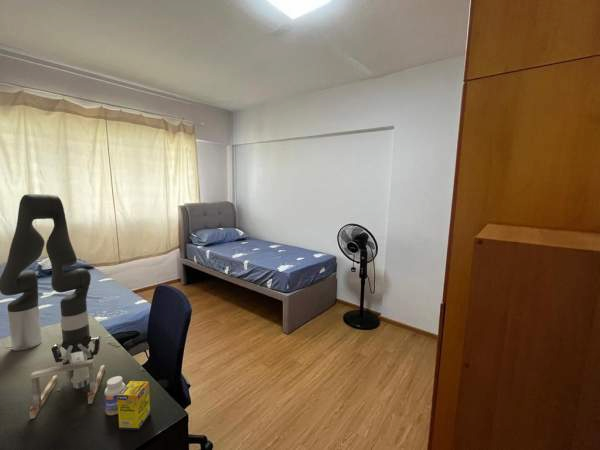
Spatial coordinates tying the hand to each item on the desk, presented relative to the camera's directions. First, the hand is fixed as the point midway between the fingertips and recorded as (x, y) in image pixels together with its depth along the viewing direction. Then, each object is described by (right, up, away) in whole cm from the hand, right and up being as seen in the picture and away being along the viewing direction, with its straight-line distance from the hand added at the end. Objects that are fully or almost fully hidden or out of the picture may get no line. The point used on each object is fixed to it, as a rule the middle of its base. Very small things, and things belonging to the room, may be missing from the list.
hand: (79, 367), depth 98 cm
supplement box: (+32, -6, -18) cm, 37 cm away
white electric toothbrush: (0, -1, 0) cm, 1 cm away
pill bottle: (+23, -6, -14) cm, 28 cm away
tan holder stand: (+3, -4, -7) cm, 9 cm away
